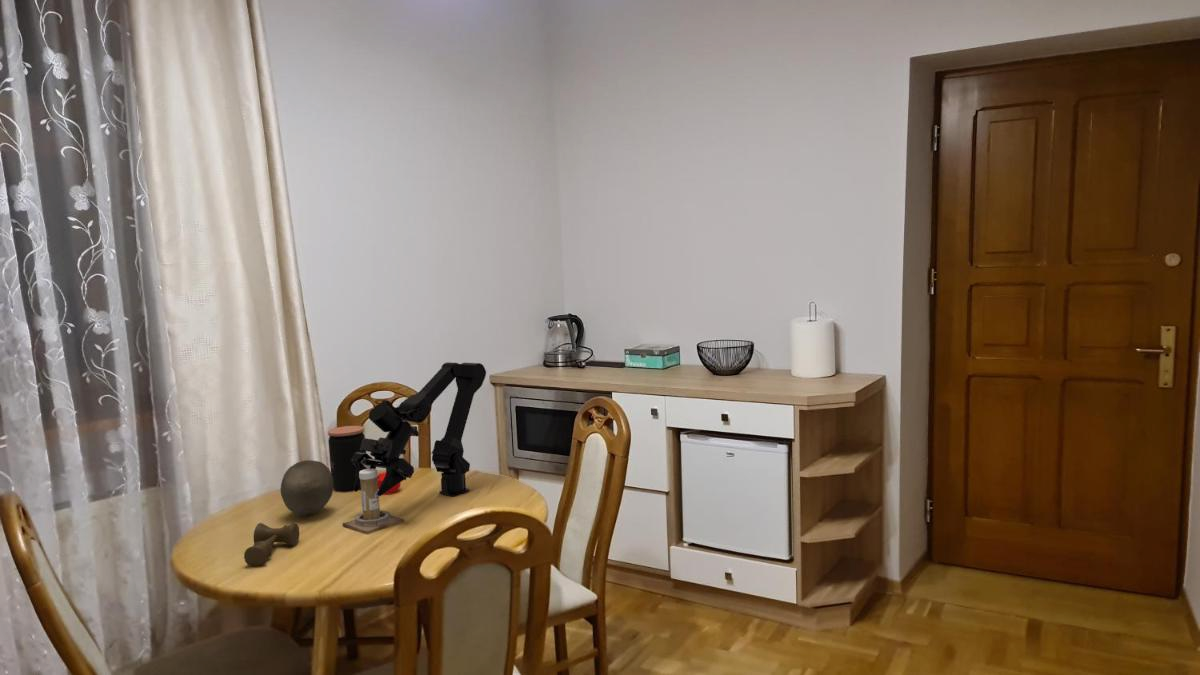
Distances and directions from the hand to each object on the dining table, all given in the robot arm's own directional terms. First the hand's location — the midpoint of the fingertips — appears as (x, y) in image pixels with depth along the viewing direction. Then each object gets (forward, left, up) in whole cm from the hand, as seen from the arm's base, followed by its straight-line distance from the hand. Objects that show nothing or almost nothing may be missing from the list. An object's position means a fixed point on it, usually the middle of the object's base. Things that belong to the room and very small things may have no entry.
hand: (366, 493), depth 205 cm
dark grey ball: (+4, -22, -9) cm, 24 cm away
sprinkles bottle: (-1, -1, -8) cm, 8 cm away
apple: (-21, -21, -9) cm, 31 cm away
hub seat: (-1, 0, -9) cm, 9 cm away
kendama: (+24, -5, -9) cm, 26 cm away
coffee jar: (-18, -36, -9) cm, 41 cm away
